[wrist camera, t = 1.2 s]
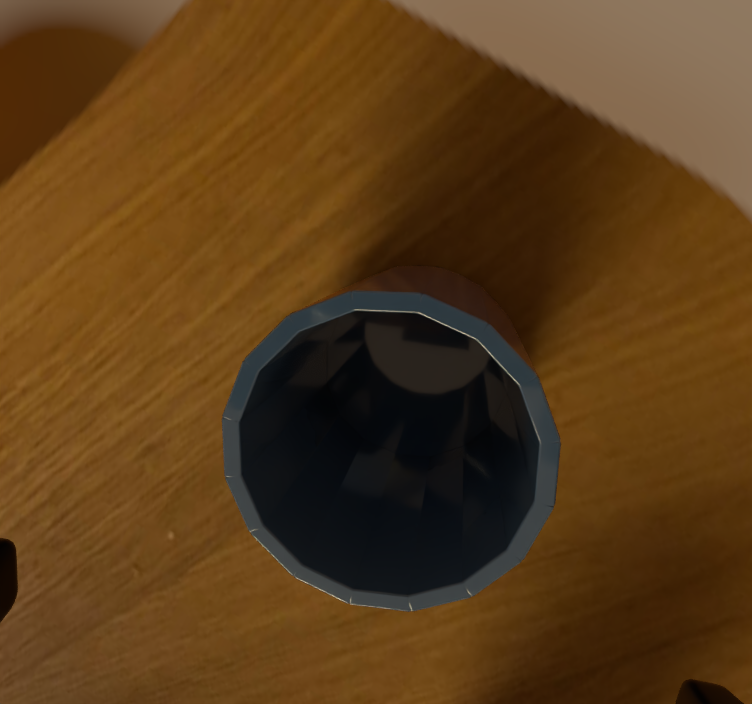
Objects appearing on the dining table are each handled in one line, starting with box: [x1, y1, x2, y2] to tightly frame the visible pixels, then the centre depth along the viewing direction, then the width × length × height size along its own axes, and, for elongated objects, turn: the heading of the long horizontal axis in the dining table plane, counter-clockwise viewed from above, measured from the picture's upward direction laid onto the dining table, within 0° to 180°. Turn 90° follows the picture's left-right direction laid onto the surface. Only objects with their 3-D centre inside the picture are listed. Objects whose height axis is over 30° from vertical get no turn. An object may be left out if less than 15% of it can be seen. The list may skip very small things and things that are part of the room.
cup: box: [222, 265, 561, 612], centre depth 15 cm, size 7×7×8 cm
